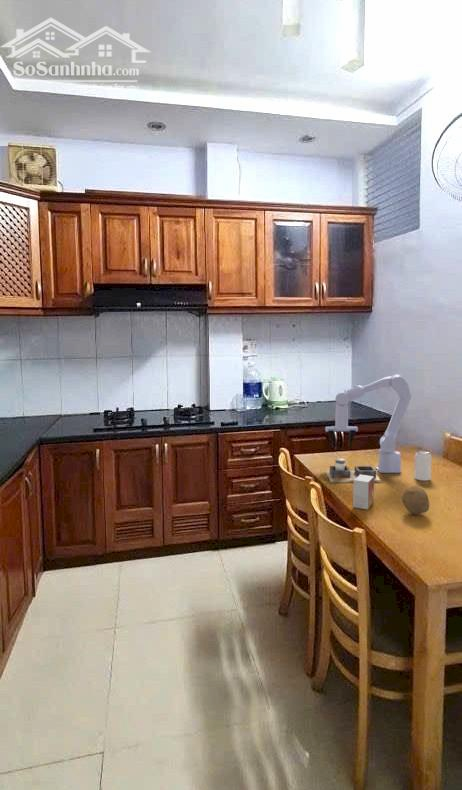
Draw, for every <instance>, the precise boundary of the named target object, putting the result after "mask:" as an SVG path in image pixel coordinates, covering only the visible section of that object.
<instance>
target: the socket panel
mask: <svg viewBox="0 0 462 790" xmlns="http://www.w3.org/2000/svg"><path fill="white" fill-rule="evenodd" d="M376 470H377V469H376V468H374V466H372V465H354V470H351V469H350V468H349V467H348V465H345V471H335V465H329V469H328V470H326V469H325V473H326V475H327V477H328V479H329V482H330V483H354V479H356V478H357V477H358V476H359V475H360V474H361V475H368V476H374V483H381V482H382V479H380V477H379V476H378V475H377V471H376Z"/></svg>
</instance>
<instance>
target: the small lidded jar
mask: <svg viewBox="0 0 462 790" xmlns="http://www.w3.org/2000/svg"><path fill="white" fill-rule="evenodd" d="M334 460H335V464H334V466H335V471H345V466H346V459H345V458H342V457H336V458H335V459H334Z"/></svg>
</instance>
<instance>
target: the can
mask: <svg viewBox="0 0 462 790" xmlns="http://www.w3.org/2000/svg"><path fill="white" fill-rule="evenodd" d="M413 475H414V479H415V480H417V481H420V482H427V481H430V480H431V475H432V454H431V451H429V450H426V449H425V450H423V449H421V450H420V449H419V450H416V453H415V454H414V474H413Z"/></svg>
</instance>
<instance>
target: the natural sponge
mask: <svg viewBox="0 0 462 790" xmlns="http://www.w3.org/2000/svg"><path fill="white" fill-rule="evenodd" d="M401 501H402V502H401V503H402V504H403V506H404V507H405V509H406V510H407V511H408V513H410V514H411V515H414V516H418V515H421V514H423V513H427V512H428V511H429V509H430V500H429V496H428V494H427V491H425V490H424V489H423V488H421V487H419V486H417V485H415V486H410V487H408V488H407V489H405V490H404V492H403V493H402V495H401Z"/></svg>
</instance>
